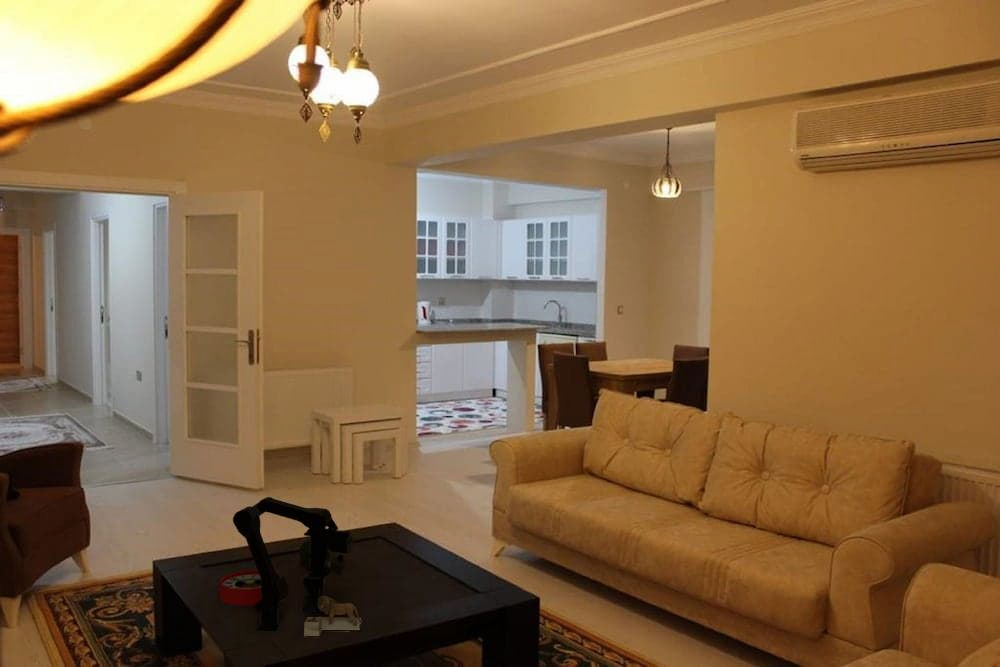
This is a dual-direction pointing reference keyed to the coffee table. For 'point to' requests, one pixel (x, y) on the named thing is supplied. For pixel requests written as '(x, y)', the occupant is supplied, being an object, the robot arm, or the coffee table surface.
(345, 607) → the lion figurine
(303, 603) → the phone
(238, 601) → the toy clock
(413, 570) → the coffee table surface
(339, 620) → the grey mat
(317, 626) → the maple cube
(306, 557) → the toy figurine
